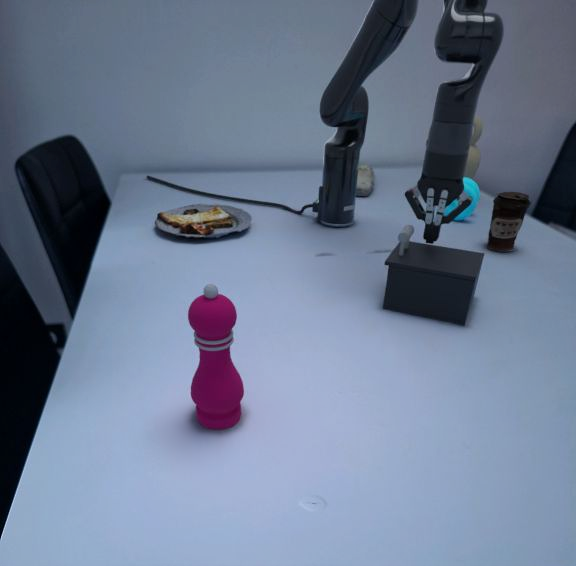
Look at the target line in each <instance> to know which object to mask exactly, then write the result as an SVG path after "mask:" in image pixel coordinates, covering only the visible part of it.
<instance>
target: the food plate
mask: <svg viewBox="0 0 576 566" xmlns="http://www.w3.org/2000/svg"><path fill="white" fill-rule="evenodd" d="M156 215H157V216H156V219H155V221H154V225H155V227H156V228H157V229H158V231H160V232H163V233H167V234H170V235H172V236H173V237H182V239H184V237H185V238H187V239H188V238H191V237H193V238H194V239H198V238H205V239H214V238H215V239H218V238H220V237H223V236H227V235H229V234H230V233H231V234H232V233H234V232H242V231H244V230H245V229H248V228H249V227H250V226H251V222H252V220H253V218H252V215H251V214H250V213H249V212H248V211H247V210H245V209H243V208H239V207H235V206H233V205H228V204H220V203H219V204H216V203H213V204H206V203H197V204H189V205H185V206H180V207H176V208H172V209H169V210H167V211H163V212H162V211H159V212H158V213H157V214H156Z"/></svg>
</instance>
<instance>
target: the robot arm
mask: <svg viewBox="0 0 576 566" xmlns="http://www.w3.org/2000/svg"><path fill="white" fill-rule="evenodd" d="M442 2H443V4H442V13H441V17H440V20H439V22H438V25H437V28H436V31H435V35H434V40H433V51H434V54H435V56H436V58H438V60H439V61H440V62H442V63H445V64H465V65H466V64H467V65H471V66H470V68H469V70H468V71H467V72H466V73H465V74H464V75H463V76H461V77H458V78H453V79H447V80H443V81H442V82H441V83H439V85H438V86H437V90H436V95H435V101H434V107H433V111H432V113H433V114H432V119H431V123H430V127H429V129H428V133H427V139H426V142H425V151H424V158H423V163H422V168H421V169H422V170H421V174H420V177H419V180H418V181H417V183H416V185H414V186H413V187H409V188H407V190H406V191H405V192H404V197H405V198H406V200H407V203H408V205H409V206H410V208H411V210H412V212H413V213H414V216H415V218H416V219H417V220H418V221H419V220H421V221H423V222H424V224H425V225H424V230H423V235H422V239H423V240H425V244H430V245H434V243H435V242H437V241H438V239H439V238H440V233H441V228H442V225H445V224H446V225H449V224H451V222H452V221H455V220H454V219H455V218H456V217H457V216H458V215H459V214H461V213H462V212H463V211H464V210H465V209H466V208H467V207H469V206H470V205H471V203H472V201H473V198H472V197H471V196H468V195H467V194H466V193H465V192H464V184H463V178H464V173H465V168H466V163H467V159H468V154H469V149H470V144H471V140H472V135H473V133H474V126H473V123H474V122H473V121H474V118H475V114H476V112H477V107H478V104H479V100H480V95H481V92H482V89H483V86H484V84H485V81H486V79H487V76H488V74H489V72H490V70H491V68H492V66H493V64H494V62H495V59H496V58H497V57H498V54H499V51H500V50H501V46H502V44H503V41H504V37H505V23H504V21H503V18H502V16H501V15H500V14H499V13H497V12H493V11H486V10H487V6H488V2H489V0H442ZM418 8H419V0H373V1H372V3H371V5H370V7H369V9H368V11H367V12H366V15H365V17H364V19H363V21H362V23H361V26H360V28H359V29H358V31H357V33H356V35H355V36H354V39H353V41H352V42H351V44H350V47H349V49H348V50H347V52H346V54H345V56H344V57H343V60H342V61H341V63H340V64H339V66H338V68H337V69H336V71H335V73H334V74H333V75H332V76H331V79H330V80H329V81H328V83H327V85H326V86H325V88H324V90H323V92H322V94H321V97H320V99H319V105H318V114H319V119H320V121H321V122H322V123H323V125H325V126H327V127H329V128H336V131H335V133H333V135H332V136H331V137H330V138H329V139H328V140H326V142H325V143H324V145H323V158H322V160H323V161H322V177H321V178H322V179H321V185H320V186H319V187H318V198H317V199H315V200H314V201H313V202H312V203H307V204H305V205H303V206H302V207H301V209H300V210H296V209H293V208H291V207H290V206H288V205H285V204H282V203H277V202H272V201H271V202H270V201H264V200H263V201H262V200H254V199H248V198H241V197H234V196H228V195H223V194H217V193H211V192H206V191H201V190H198V189H193V188H189V187H185V186H181V185H178V184H175V183H173V182H169V181H166V180H163V179H160V178H156V177H153V176H151V175H146V179H148V180H151V181H154V182H157V183H160V184H163V185H166V186H169V187H172V188H174V189H179V190H182V191H186V192H189V193H194V194H197V195H201V196H207V197H211V198H216V199H223V200H228V201H235V202H241V203H247V204H248V203H249V204H254V205H262V206H269V207H277V208H282V209H284V210H287V211H288V212H291V213H293V214H296V215H302V214H304V211H305V210H306V209H309V208H312V211H311V212H312V213H317V217H316V218H317V219H316V222H317V224H321V225H323V226H325V227H331V228H347V227H350V226H353V224H354V223H355V219H354V218H355V210H356V200H357V195H356V190H357V179H358V168H359V162H360V157H361V151H362V149H363V146H364V143H365V138H366V131H367V125H368V118H369V109H370V103H369V102H370V101H369V96H368V91H367V90H366V88H365V86H363V84H364V83H365V82H366V80H367V79H368V78H369V76H370V75H371V74H373V73H374V71H376V70H377V69H378V68H380V66H382V64H383V63H384V62H385V61H386V60H388V59H389V58H390V57H391V56H392V55H393V54H394V53H395V51H396V50H397V49H398V48H399V47H400V45H401V43H402V42H403V40H404V39H405V36H406V35H407V34H408V32H409V30H410V28H411V27H412V25H413V24H414V21H415V20H416V17H417V13H418ZM419 196H421V198H422V200H423V202H424V204H426V206H425V209H424V207H423V205H422V203H421V200H420V199H419ZM458 198H459V199H458ZM455 199H457V200H458V206H457V207H456V208H455V209H453V210H452V211H451V212H450V213H449V214H448V215H444V213H445V210H446V207H447V206H449V205H450V204H451V203H452V202H453V201H454V200H455ZM436 207H437V208H436ZM435 212H436V213H435Z"/></svg>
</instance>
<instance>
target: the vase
mask: <svg viewBox="0 0 576 566" xmlns="http://www.w3.org/2000/svg"><path fill="white" fill-rule="evenodd" d="M473 122H474V123H473V133H472V140H471V144H470V149H469V154H468V159H467V163H466V168H465V173H464V177H466V178H470V179H472V180H473V181H474V178H475V176H476V175H477V172H478V171H479V168H480V164H481V160H482V159H481V158H482V157H481V151H480V148H479V147H478V146H477V145H476V144H477V143H478V141H479V140H480V139H481V136H482V134H483V127H484V126H483V122H482V118H480V116H479V115H478V114H476V113H475V118H474V121H473Z"/></svg>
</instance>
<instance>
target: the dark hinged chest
mask: <svg viewBox="0 0 576 566" xmlns="http://www.w3.org/2000/svg"><path fill="white" fill-rule="evenodd" d="M483 261H484V259H483V260H482V263H481V266H480V269H479V272H478V274H477V277H476V280H475V281H471V280H466V279H460V278H455V277H449V276H443V275H438V274H432V273H427V272H421V271H415V270H410V269H404V268H399V267H393V266H388V267H387V268H388V269H387V275H386V283H385V290H384V297H383V305H382V309H383V310H387V311H392V312H396V313H402V314H406V315H412V316H416V317H422V318H425V319H431V320H435V321H441V322H445V323H450V324H455V325H460V326H465V325H466V322H467V319H468V317H469V312H470V310H471V308H472V305H473V301H474V298H475V293H476V290H477V286H478V282H479V277H480V274H481V270H482V266H483Z"/></svg>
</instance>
